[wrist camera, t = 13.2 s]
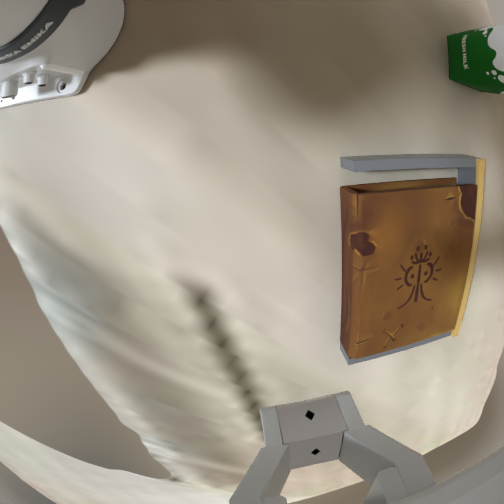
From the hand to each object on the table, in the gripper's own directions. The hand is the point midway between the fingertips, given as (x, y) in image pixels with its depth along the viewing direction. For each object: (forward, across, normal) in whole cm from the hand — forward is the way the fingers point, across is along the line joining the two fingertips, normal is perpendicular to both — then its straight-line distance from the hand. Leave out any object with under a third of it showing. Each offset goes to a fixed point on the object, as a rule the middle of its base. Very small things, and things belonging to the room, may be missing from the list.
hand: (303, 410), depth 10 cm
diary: (+30, -21, +11) cm, 38 cm away
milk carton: (+29, -34, -18) cm, 48 cm away
